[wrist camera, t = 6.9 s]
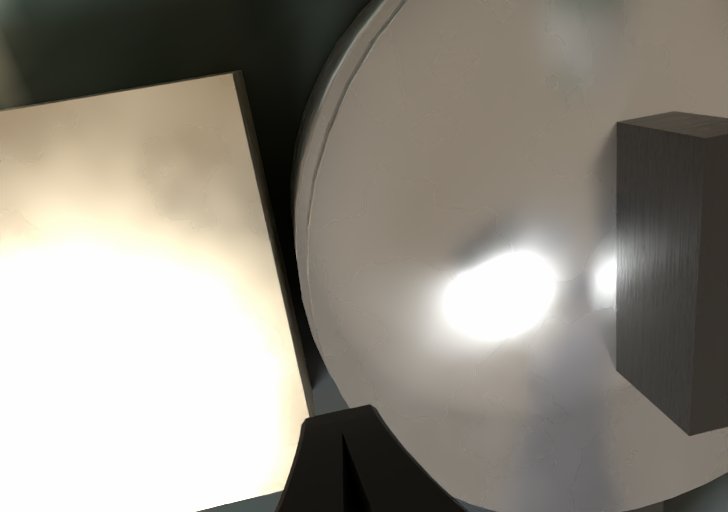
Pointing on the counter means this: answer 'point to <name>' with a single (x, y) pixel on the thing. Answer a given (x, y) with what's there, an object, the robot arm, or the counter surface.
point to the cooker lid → (534, 247)
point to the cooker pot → (154, 295)
